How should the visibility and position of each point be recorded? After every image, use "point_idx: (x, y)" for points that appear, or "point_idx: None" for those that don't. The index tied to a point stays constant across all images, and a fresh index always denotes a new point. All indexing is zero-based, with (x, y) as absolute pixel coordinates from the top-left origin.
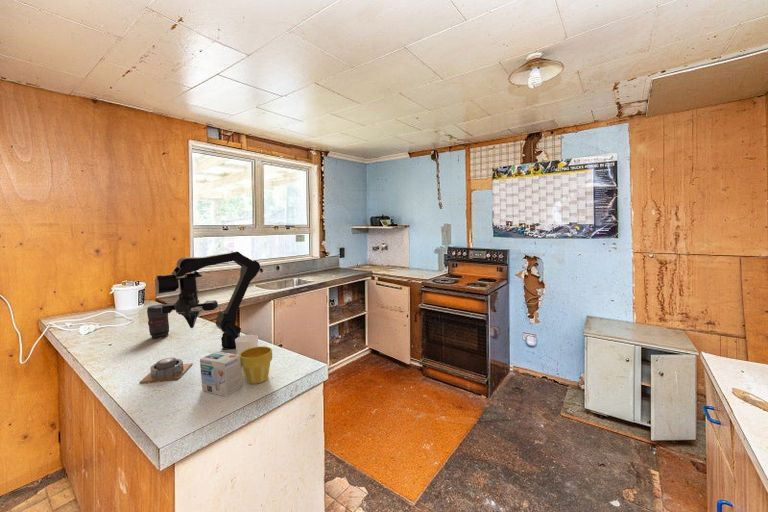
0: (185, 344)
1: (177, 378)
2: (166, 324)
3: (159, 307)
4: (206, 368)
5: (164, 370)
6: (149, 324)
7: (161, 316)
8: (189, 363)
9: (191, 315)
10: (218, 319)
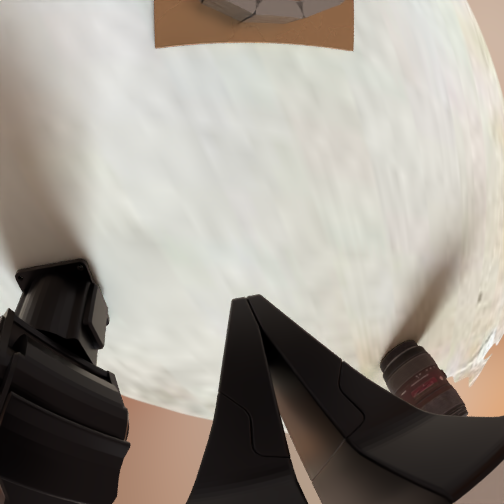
0: (313, 317)
1: None
2: (400, 389)
3: None
4: None
5: None
6: (441, 371)
7: (426, 405)
8: (172, 43)
9: (281, 482)
10: (75, 438)
